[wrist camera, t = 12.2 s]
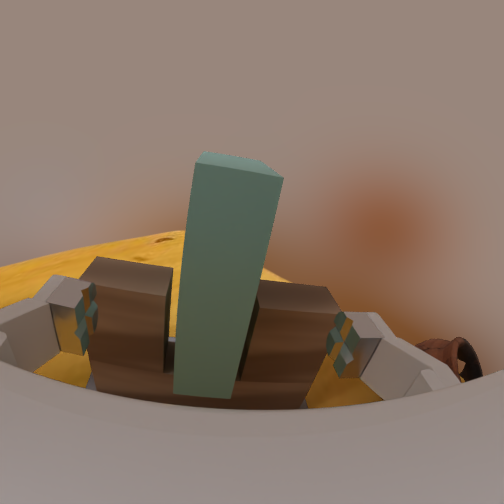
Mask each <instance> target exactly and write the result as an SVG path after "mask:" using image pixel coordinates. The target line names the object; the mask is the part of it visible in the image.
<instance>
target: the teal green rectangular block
mask: <svg viewBox="0 0 504 504" xmlns="http://www.w3.org/2000/svg"><path fill="white" fill-rule="evenodd" d="M283 179H284V178H283V177H282V176H281V175H279V174H278V173H277V172H275V171H274V170H272V169H271V168H269V167H268V166H267V165H266V164H264V163H263V162H261V161H258V160H253V159H247V158H242V157H236V156H230V155H224V154H217V153H211V152H205V151H204V152H203V153H202V155H201V156H200V157H199V159H198V160H197V161H196V163H195V169H194V176H193V182H192V188H191V195H190V202H189V209H188V217H187V224H186V232H185V240H184V248H183V257H182V266H181V276H180V287H179V298H178V310H177V323H176V339H175V357H174V381H173V394H181V395H190V396H199V397H211V398H224V399H230V398H231V394H232V391H233V387H234V383H235V379H236V375H237V371H238V367H239V363H240V359H241V355H242V351H243V347H244V343H245V339H246V335H247V331H248V327H249V323H250V319H251V315H252V311H253V307H254V303H255V298H256V294H257V290H258V286H259V282H260V278H261V274H262V269H263V265H264V261H265V256H266V253H267V248H268V244H269V240H270V236H271V231H272V227H273V223H274V218H275V214H276V210H277V205H278V201H279V197H280V192H281V188H282V184H283Z"/></svg>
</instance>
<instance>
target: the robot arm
mask: <svg viewBox="0 0 504 504" xmlns="http://www.w3.org/2000/svg"><path fill="white" fill-rule="evenodd" d="M96 295H97V292H96V285H95V284H94V282H89V281H84V280H80V279H75V278H70V277H66V276H61V275H52V277H51V278H50V279H49V280H48V281H47V282H46V283H45V284H44V286H43V287H42V288H41V289H40V290H39V291H38V292H37V294H36V295H35V296H34V297H33V298H32V299H31V298H27V299H24V300H22V301H19V302H17V303H14V304H12V305H9V306H7V307H4V308H2V309H0V504H504V369H503V370H500V371H497V372H495V373H492V374H489V375H486V376H483V377H480V378H477V379H474V380H470V381H467V382H464V383H461V382H460V381H459V379H458V378H457V377H456V376H455V374H454V373H453V372H452V370H451V369H450V368H449V367H448V365H446V364H444V363H443V362H441V361H439V360H437V359H436V358H434V357H432V356H431V355H429V354H427V353H425V352H424V351H422V350H420V349H418V348H417V347H415V346H413V345H411V344H409V343H408V342H406V341H404V340H403V339H401V338H396V336H395V335H394V334H393V333H392V331H391V330H390V329H389V327H388V326H387V325H386V324H385V322H384V321H383V320H382V318H381V317H380V316H379V315H378V314H377V313H375V312H338V314H337V315H336V317H335V319H334V324H335V327H334V328H333V329H332V330H330V331H329V334H328V336H327V339H326V350H327V353H328V355H329V357H330V358H332V359H333V360H334V361H335V362H334V364H333V366H334V368H335V370H336V372H337V375H338V377H339V378H360V379H361V380H362V381H363V382H364V383H365V384H366V385H367V386H369V387H370V388H371V389H372V390H373V391H374V392H375V393H377V394H378V395H379V396H380V397H381V398H382V399H383V400H385V401H379V402H372V403H365V404H357V405H348V406H339V407H327V408H313V409H293V410H237V409H216V408H202V407H191V406H181V405H173V404H165V403H158V402H151V401H144V400H138V399H133V398H127V397H122V396H117V395H112V394H107V393H103V392H98V391H94V390H90V389H86V388H82V387H78V386H74V385H71V384H67V383H64V382H60V381H57V380H53V379H50V378H47V377H44V376H41V375H38V374H35V373H32V372H34V371H35V370H37V369H38V368H39V367H41V366H42V365H43V364H45V363H46V362H47V361H49V360H50V359H52V358H53V357H54V356H56V355H57V354H59V353H60V351H63V352H67V353H72V354H76V355H81V356H84V354H85V351H86V349H87V347H88V345H89V343H90V341H89V336H90V335H92V334H94V332H95V330H96V327H97V322H98V306H97V304H96V303H95V302H94V298H95V297H96Z"/></svg>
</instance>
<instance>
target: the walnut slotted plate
mask: <svg viewBox="0 0 504 504" xmlns="http://www.w3.org/2000/svg"><path fill="white" fill-rule="evenodd" d="M172 278H173V268H170V267H163V266H156V265H149V264H143V263H136V262H129V261H123V260H117V259H110V258H104V257H98V256H97V257H96V258H95V259H94V261H93V262H92V263H91V264H90V266H89V267H88V268H87V269H86V271H85V272H84V273H83V274H82V276H81V277H80V278H79V279H80V280H84V281H89V282H94V284H95V285H96V292H97V295H96V297H95V298H94V302H95V303H96V304H97V306H98V322H97V327H96V330H95V332H94V334H92V335H90V336H89V341H90V343H89V345H88V347H87V351H88V356H89V361H90V365H91V369H92V373H91V375H90V378H89V381H88V383H87V386H86V389H90V390H94V391H98V392H103V393H107V394H112V395H117V396H122V397H127V398H133V399H138V400H144V401H151V402H158V403H165V404H173V405H181V406H191V407H202V408H216V409H237V410H293V409H308V407H307V404H306V400H305V397H306V395H307V393H308V391H309V389H310V387H311V385H312V383H313V381H314V379H315V377H316V375H317V373H318V371H319V369H320V366H321V364H322V362H323V360H324V358H325V356H326V354H327V350H326V339H327V336H328V334H329V331H330V330H332V329H333V328H334V327H335V324H334V319H335V317H336V315H337V314H338V312H342V311H341V309H340V308H339V306H338V304H337V303H336V301H335V300H334V298H333V297H332V295H331V293H330V292H329V290H328V289H327V288H326V287H322V286H313V285H304V284H295V283H286V282H277V281H269V280H261V279H260V282H259V286H258V290H257V294H256V298H255V303H254V307H253V311H252V315H251V319H250V323H249V327H248V331H247V335H246V339H245V343H244V347H243V351H242V355H241V359H240V363H239V367H238V371H237V375H236V379H235V383H234V387H233V391H232V394H231V398H230V399H224V398H211V397H199V396H190V395H181V394H173V381H174V357H175V339H176V338H175V337H169V321H170V305H171V290H172Z"/></svg>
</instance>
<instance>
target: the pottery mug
mask: <svg viewBox="0 0 504 504" xmlns="http://www.w3.org/2000/svg"><path fill="white" fill-rule="evenodd" d="M415 347H417V348H418V349H420V350H422V351H424V352H425V353H427V354H429V355H431V356H432V357H434V358H436V359H437V360H439V361H441V362H443V363H444V364H446V365H448V367H449V368H450V369H451V370H452V372H453V373H454V374H455V376H456V377H457V378H458V379H459V381H460V382H461V379H460V376H461V377H462V378H463V379H464V380H465V382H467V381H470V380H474V379H477V378H480V377H483V375H482V369H481V366H480V363H479V360H478V357H477V355H476V353H475V351H474V349H473V347H472V346H471V345H470V344H469V343H468V341H466V339H464V338H461V337H456V338H455V339H454V340H452V341H447V340H443V339H430V340H427V341H424V342H422V343H419V344H417V345H415ZM457 358H458V359H459V360H461V361H464V362H465V363H466V364H465V367H464V369H463V371H462V372H461V373H460V374H459V373H458V364H457ZM459 375H460V376H459ZM384 401H385V400H384Z"/></svg>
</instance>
